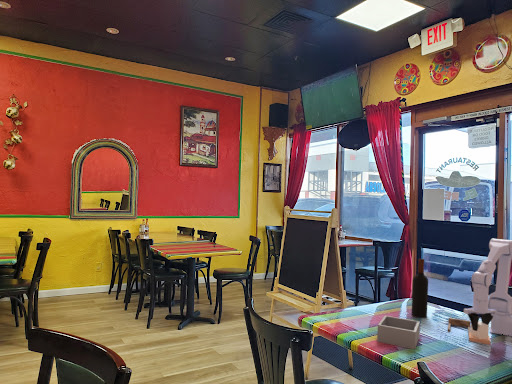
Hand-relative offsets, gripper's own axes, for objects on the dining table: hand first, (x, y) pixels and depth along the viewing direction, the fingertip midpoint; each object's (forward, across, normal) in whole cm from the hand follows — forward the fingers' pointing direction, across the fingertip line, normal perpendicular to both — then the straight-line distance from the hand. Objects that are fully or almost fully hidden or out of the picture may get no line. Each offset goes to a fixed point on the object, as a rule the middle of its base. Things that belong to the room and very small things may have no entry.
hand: (479, 330), depth 175 cm
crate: (+4, +37, 0) cm, 38 cm away
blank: (+3, 0, 0) cm, 3 cm away
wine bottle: (+4, +8, -36) cm, 37 cm away
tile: (+4, 0, 0) cm, 4 cm away
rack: (+4, 0, -14) cm, 15 cm away
